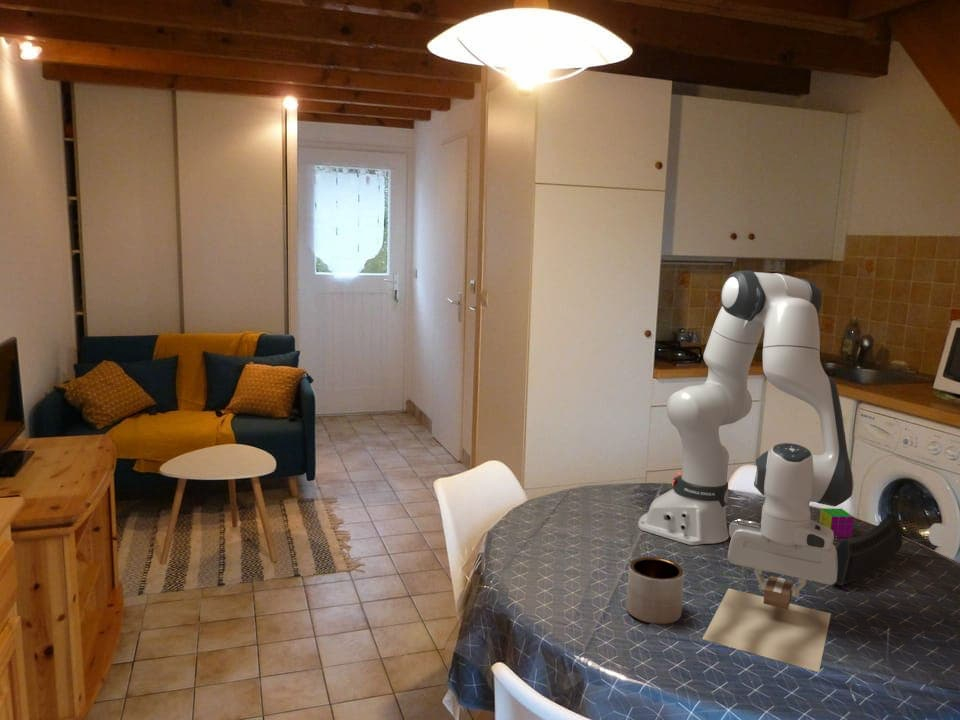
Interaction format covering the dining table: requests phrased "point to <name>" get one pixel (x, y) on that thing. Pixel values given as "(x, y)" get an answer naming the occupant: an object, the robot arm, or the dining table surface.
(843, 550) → the dark grey curved slab
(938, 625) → the dining table surface
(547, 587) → the dining table surface
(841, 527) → the puzzle toy
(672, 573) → the planter
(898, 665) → the dining table surface
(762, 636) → the cork mat
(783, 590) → the brown small block
